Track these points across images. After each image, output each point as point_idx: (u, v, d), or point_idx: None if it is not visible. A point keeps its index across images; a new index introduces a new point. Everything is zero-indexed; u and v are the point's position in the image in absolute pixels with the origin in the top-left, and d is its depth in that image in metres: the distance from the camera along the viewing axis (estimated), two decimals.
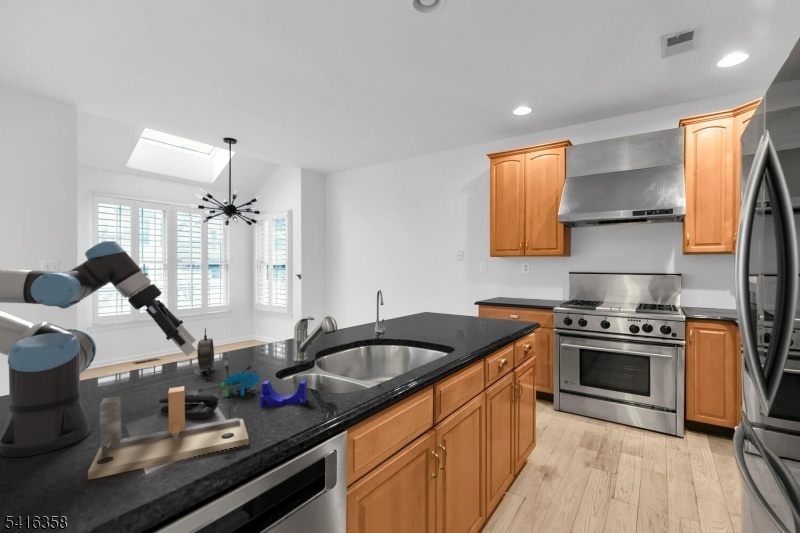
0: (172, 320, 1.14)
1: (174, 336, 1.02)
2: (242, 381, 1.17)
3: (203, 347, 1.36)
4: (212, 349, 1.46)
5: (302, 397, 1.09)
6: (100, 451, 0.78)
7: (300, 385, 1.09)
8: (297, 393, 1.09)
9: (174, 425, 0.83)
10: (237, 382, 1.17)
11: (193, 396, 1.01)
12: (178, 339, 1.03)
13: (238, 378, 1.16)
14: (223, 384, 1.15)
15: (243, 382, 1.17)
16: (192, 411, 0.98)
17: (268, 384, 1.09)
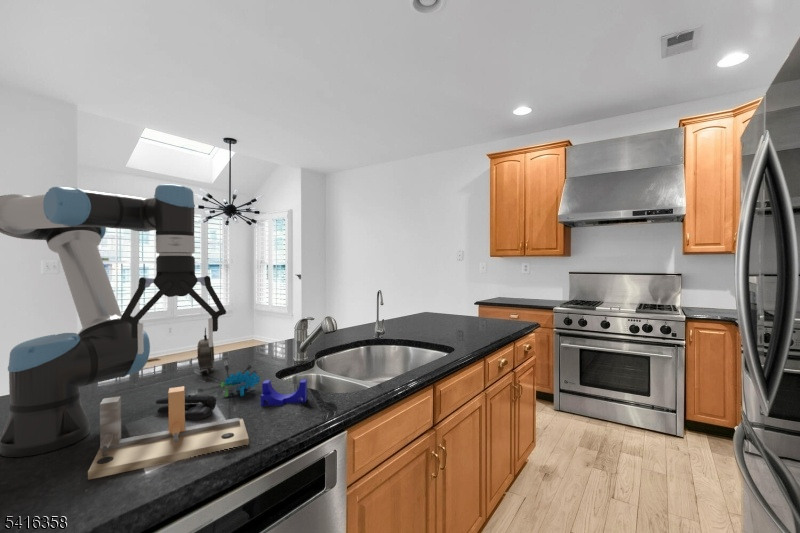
0: None
1: (131, 323, 0.82)
2: (242, 381, 1.17)
3: (203, 347, 1.36)
4: (212, 349, 1.46)
5: (302, 396, 1.09)
6: (100, 451, 0.78)
7: (300, 384, 1.09)
8: (297, 392, 1.09)
9: (174, 425, 0.83)
10: (237, 382, 1.17)
11: (191, 396, 1.01)
12: None
13: (238, 378, 1.16)
14: (222, 384, 1.15)
15: (243, 382, 1.17)
16: (190, 411, 0.98)
17: (268, 383, 1.10)
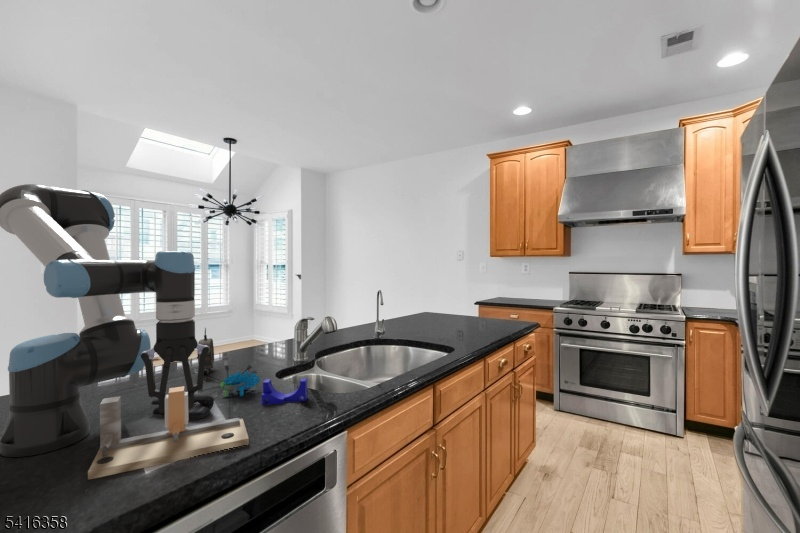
0: (185, 378, 0.86)
1: None
2: (241, 381, 1.16)
3: None
4: (212, 349, 1.46)
5: (303, 395, 1.11)
6: (100, 451, 0.78)
7: (301, 383, 1.11)
8: (298, 391, 1.11)
9: (174, 425, 0.83)
10: (237, 382, 1.17)
11: None
12: (159, 403, 0.84)
13: (237, 378, 1.15)
14: (222, 385, 1.15)
15: (242, 382, 1.16)
16: (188, 411, 0.98)
17: (269, 383, 1.11)
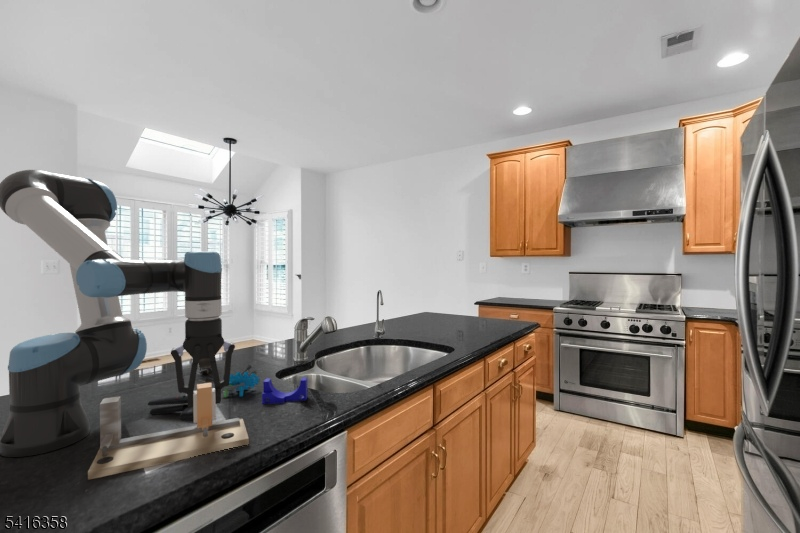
0: None
1: None
2: (241, 382, 1.16)
3: None
4: None
5: (303, 394, 1.11)
6: (100, 451, 0.78)
7: (301, 382, 1.11)
8: (298, 390, 1.11)
9: (203, 420, 0.85)
10: (236, 383, 1.17)
11: (186, 397, 1.01)
12: (188, 399, 0.87)
13: (237, 379, 1.15)
14: None
15: (242, 383, 1.16)
16: (186, 411, 0.98)
17: (269, 382, 1.11)
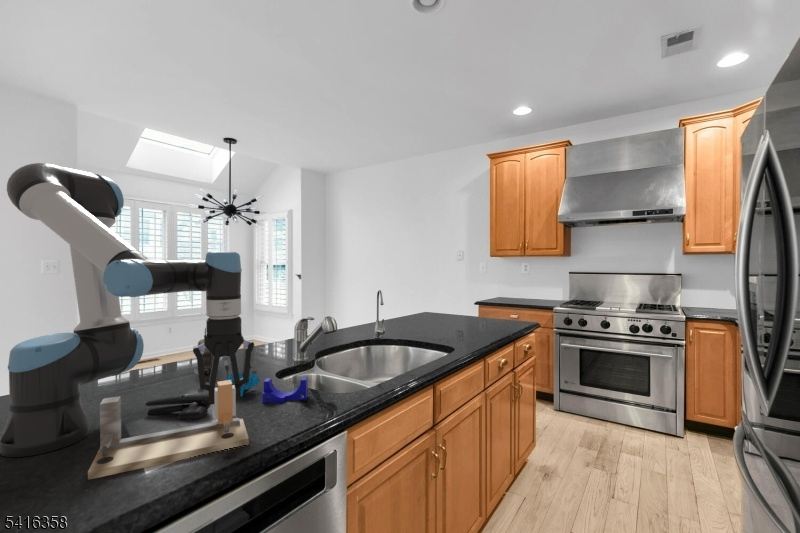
0: (232, 372, 0.91)
1: (208, 390, 0.89)
2: None
3: None
4: None
5: (303, 393, 1.12)
6: (100, 451, 0.78)
7: (301, 382, 1.12)
8: (298, 390, 1.12)
9: (224, 416, 0.87)
10: None
11: (184, 397, 1.01)
12: (209, 395, 0.89)
13: None
14: None
15: None
16: (185, 411, 0.98)
17: (269, 381, 1.12)
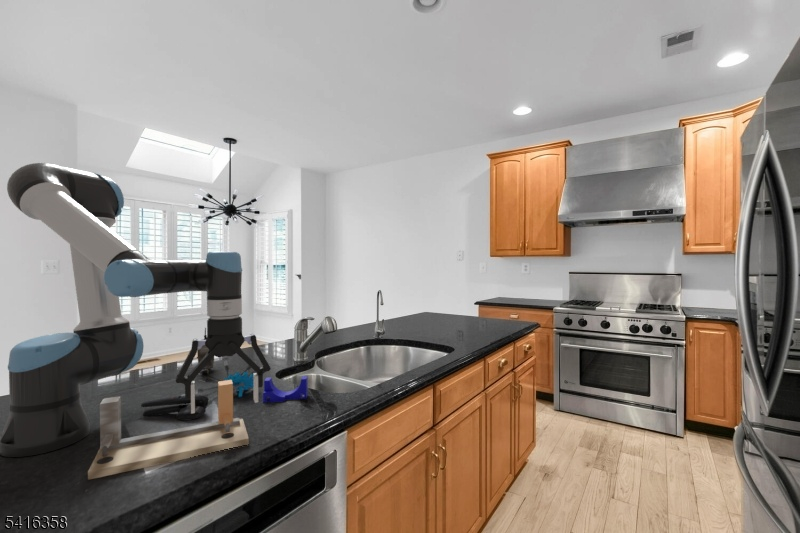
0: (249, 364, 0.93)
1: (184, 383, 0.87)
2: (241, 382, 1.16)
3: (203, 347, 1.36)
4: None
5: (304, 392, 1.13)
6: (100, 451, 0.78)
7: (302, 381, 1.12)
8: (299, 389, 1.12)
9: (225, 416, 0.87)
10: (236, 383, 1.16)
11: (182, 397, 1.00)
12: (185, 389, 0.87)
13: (236, 379, 1.15)
14: None
15: (242, 383, 1.16)
16: (183, 412, 0.98)
17: (270, 381, 1.12)
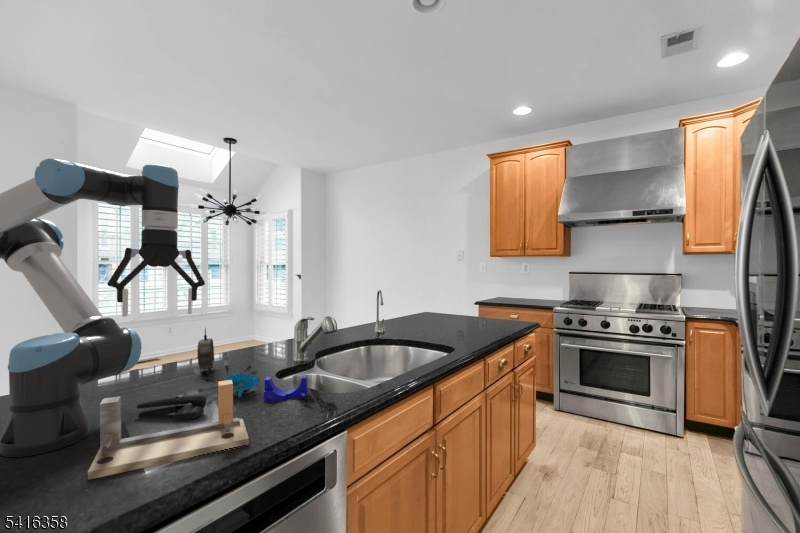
0: None
1: (117, 288, 0.91)
2: (240, 382, 1.16)
3: (203, 347, 1.36)
4: (212, 349, 1.46)
5: (304, 391, 1.14)
6: (100, 451, 0.78)
7: (302, 380, 1.13)
8: (299, 388, 1.13)
9: (225, 416, 0.87)
10: (236, 383, 1.16)
11: (179, 398, 1.00)
12: None
13: (236, 379, 1.15)
14: None
15: (241, 383, 1.16)
16: (181, 412, 0.98)
17: (270, 380, 1.13)
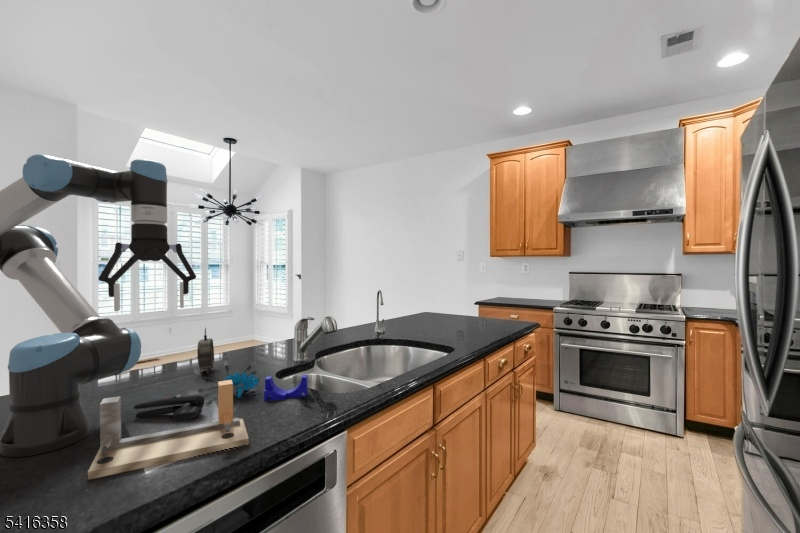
0: (174, 271, 0.97)
1: (108, 283, 0.91)
2: (240, 382, 1.15)
3: (203, 347, 1.36)
4: (212, 349, 1.46)
5: (304, 391, 1.14)
6: (100, 451, 0.78)
7: (302, 379, 1.14)
8: (299, 387, 1.14)
9: (225, 416, 0.87)
10: (235, 383, 1.16)
11: (177, 398, 1.00)
12: None
13: (236, 379, 1.15)
14: None
15: (241, 383, 1.15)
16: (179, 412, 0.97)
17: (271, 379, 1.14)
